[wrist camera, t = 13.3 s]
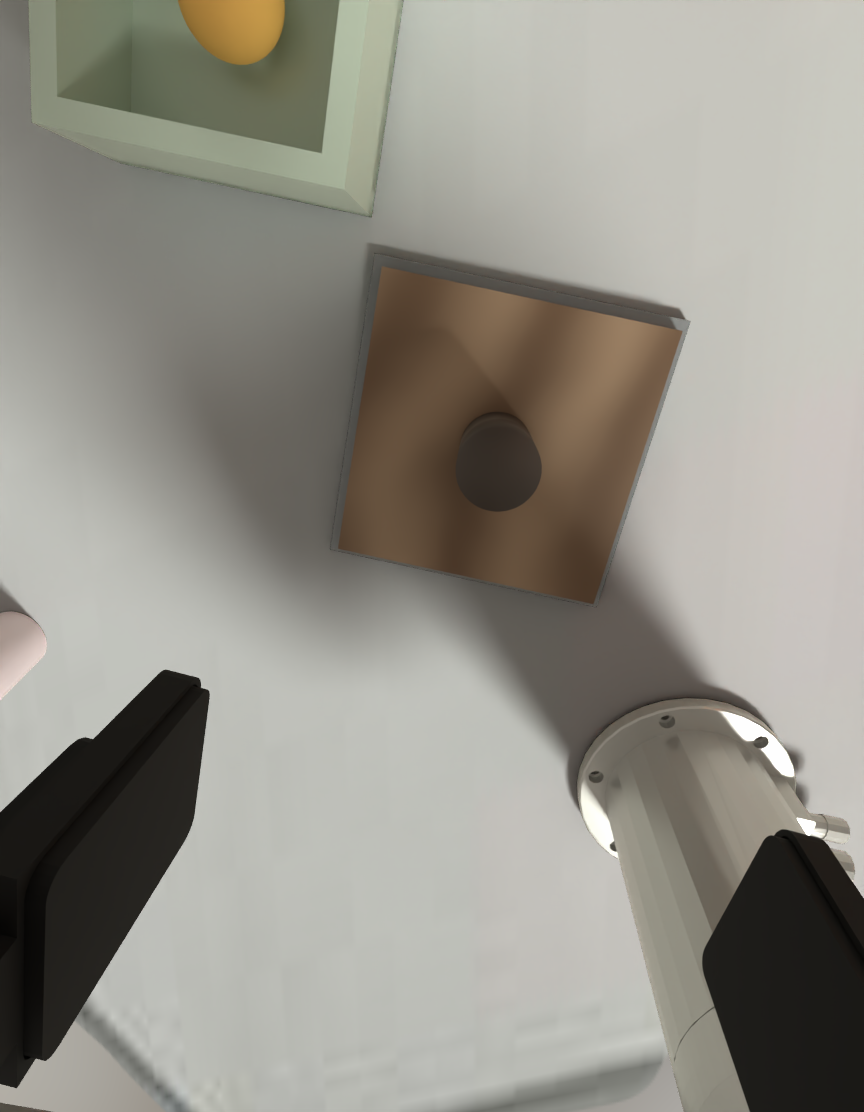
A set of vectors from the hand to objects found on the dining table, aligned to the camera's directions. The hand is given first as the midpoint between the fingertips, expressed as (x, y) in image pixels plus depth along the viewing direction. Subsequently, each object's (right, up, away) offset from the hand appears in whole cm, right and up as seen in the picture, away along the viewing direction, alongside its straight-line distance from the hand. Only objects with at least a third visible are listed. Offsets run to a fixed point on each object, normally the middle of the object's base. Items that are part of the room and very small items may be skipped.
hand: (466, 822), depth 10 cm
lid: (+3, +10, +21) cm, 24 cm away
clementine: (-8, +26, +14) cm, 30 cm away
